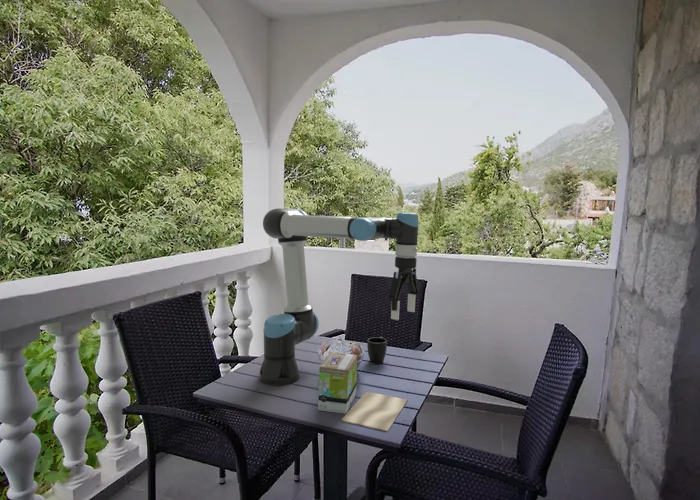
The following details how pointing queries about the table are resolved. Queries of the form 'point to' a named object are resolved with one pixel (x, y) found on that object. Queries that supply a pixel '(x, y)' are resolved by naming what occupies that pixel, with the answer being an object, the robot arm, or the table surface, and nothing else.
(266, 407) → the table surface
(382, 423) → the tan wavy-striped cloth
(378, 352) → the mug
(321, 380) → the tea box
